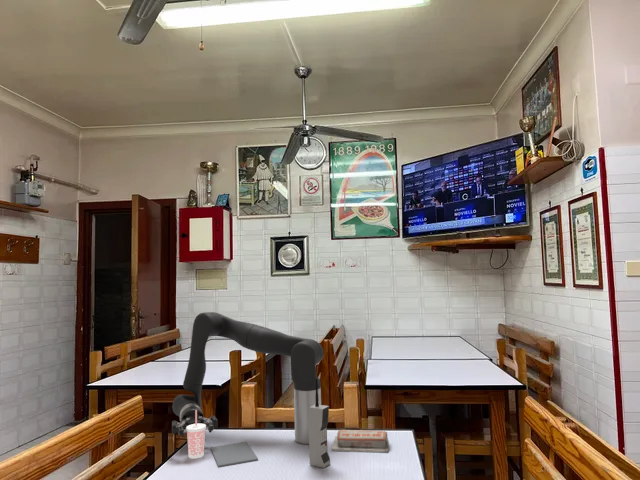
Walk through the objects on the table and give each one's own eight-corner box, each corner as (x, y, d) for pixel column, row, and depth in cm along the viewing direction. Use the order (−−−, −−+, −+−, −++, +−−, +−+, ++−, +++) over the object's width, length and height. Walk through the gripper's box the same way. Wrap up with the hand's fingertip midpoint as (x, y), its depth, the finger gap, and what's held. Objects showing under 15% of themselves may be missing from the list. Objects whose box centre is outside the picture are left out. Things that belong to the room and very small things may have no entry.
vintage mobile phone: (324, 468, 130) (321, 380, 132) (309, 465, 133) (307, 378, 135) (330, 463, 133) (328, 377, 136) (316, 460, 136) (314, 376, 138)
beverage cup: (185, 460, 139) (185, 413, 140) (186, 453, 145) (186, 408, 146) (206, 458, 140) (206, 411, 141) (206, 450, 146) (205, 406, 147)
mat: (246, 442, 152) (246, 441, 152) (258, 460, 138) (258, 458, 138) (210, 448, 148) (210, 447, 148) (218, 467, 133) (218, 465, 133)
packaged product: (388, 427, 151) (387, 438, 141) (388, 442, 151) (388, 454, 141) (334, 426, 154) (330, 436, 144) (335, 441, 153) (331, 452, 143)
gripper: (169, 408, 154) (173, 422, 139) (212, 403, 159) (219, 415, 144) (169, 431, 153) (173, 447, 138) (212, 425, 159) (219, 440, 144)
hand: (196, 431), depth 141 cm, fingers open, 8 cm apart
